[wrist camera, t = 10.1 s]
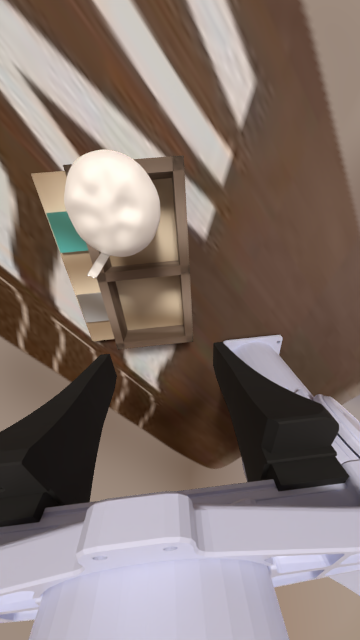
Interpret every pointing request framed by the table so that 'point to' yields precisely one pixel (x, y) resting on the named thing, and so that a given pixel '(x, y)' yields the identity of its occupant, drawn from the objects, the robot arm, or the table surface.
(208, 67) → the table surface
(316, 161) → the table surface
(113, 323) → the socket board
